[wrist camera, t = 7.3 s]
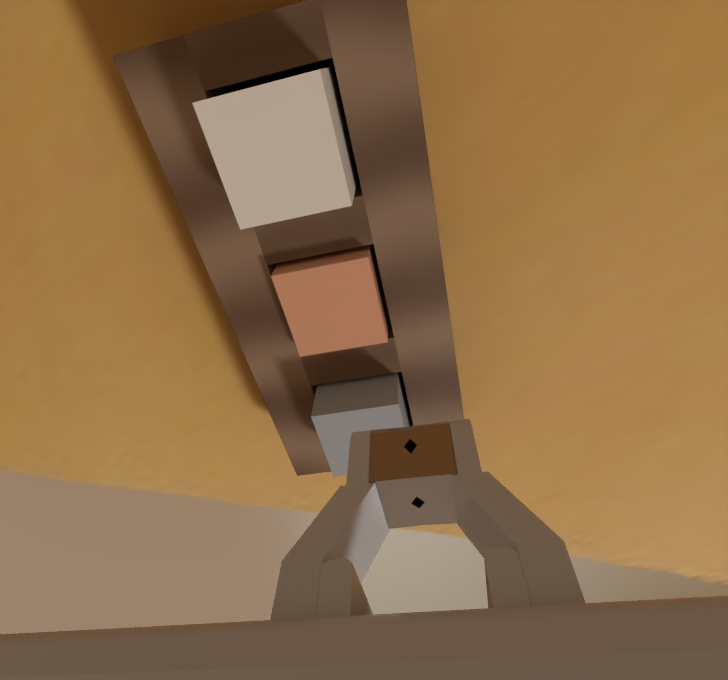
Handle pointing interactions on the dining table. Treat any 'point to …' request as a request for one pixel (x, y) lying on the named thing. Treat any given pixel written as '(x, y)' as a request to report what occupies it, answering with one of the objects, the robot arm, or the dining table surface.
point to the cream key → (281, 148)
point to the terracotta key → (333, 300)
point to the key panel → (321, 230)
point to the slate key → (356, 412)
